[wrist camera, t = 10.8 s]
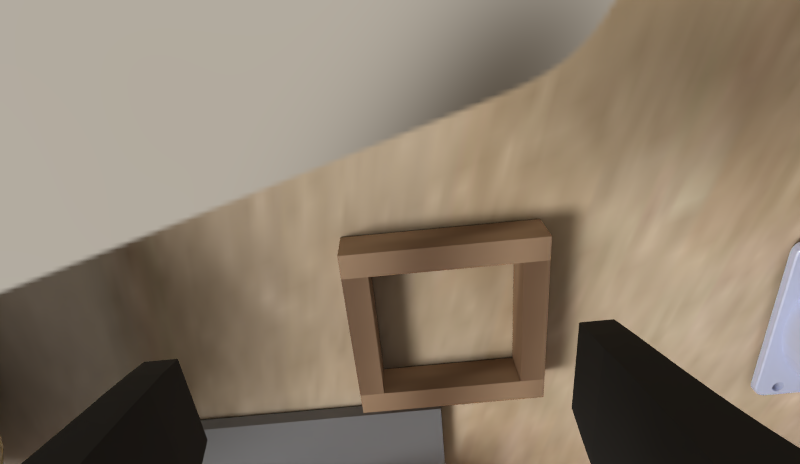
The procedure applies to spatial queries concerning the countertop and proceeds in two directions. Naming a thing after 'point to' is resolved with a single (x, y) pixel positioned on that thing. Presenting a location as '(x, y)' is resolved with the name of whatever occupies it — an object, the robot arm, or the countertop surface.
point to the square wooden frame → (449, 251)
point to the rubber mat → (328, 437)
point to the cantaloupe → (1, 451)
